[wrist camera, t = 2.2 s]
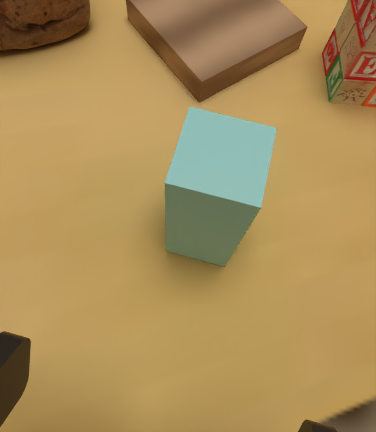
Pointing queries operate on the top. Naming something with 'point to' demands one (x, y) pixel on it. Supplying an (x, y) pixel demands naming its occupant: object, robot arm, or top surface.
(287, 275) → the top surface
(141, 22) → the slab
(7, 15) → the block
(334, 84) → the stack of blocks
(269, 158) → the post
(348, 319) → the top surface
